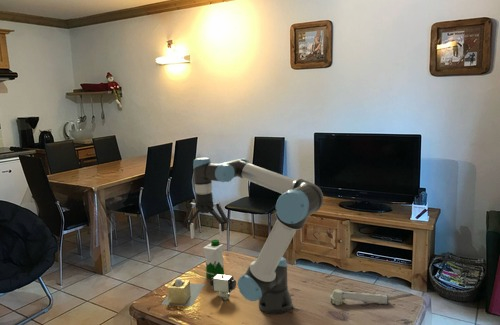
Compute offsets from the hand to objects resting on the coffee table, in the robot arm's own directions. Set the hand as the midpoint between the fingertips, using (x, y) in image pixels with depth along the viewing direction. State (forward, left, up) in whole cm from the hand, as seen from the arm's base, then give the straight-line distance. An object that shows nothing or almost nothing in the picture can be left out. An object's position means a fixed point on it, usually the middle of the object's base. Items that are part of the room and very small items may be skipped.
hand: (207, 238), depth 183 cm
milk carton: (+5, -26, -32) cm, 41 cm away
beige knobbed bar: (-67, -5, -32) cm, 75 cm away
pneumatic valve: (-5, -5, -32) cm, 33 cm away
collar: (+15, +1, -30) cm, 34 cm away
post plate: (+15, -5, -32) cm, 35 cm away
